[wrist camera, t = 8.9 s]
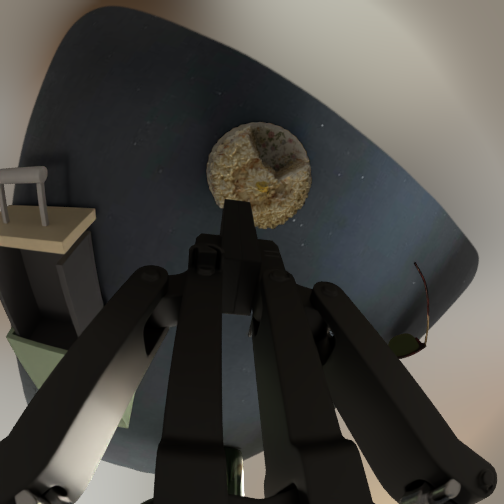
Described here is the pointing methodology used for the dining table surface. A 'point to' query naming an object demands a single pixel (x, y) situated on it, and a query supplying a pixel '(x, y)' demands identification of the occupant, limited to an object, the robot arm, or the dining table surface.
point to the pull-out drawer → (46, 265)
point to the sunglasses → (409, 336)
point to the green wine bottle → (234, 471)
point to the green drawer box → (45, 363)
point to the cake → (260, 172)
